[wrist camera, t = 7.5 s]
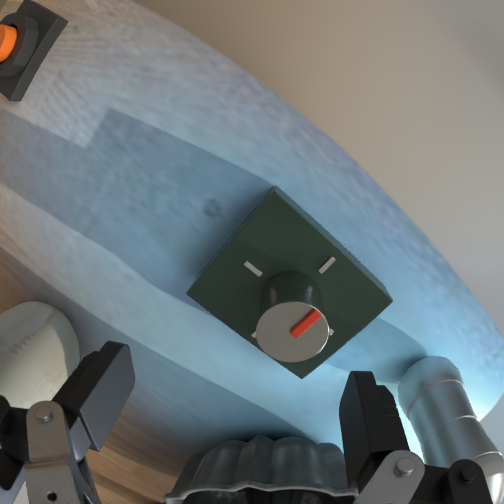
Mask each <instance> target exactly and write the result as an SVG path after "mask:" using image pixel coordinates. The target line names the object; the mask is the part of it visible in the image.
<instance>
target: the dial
mask: <svg viewBox="0 0 504 504" xmlns="http://www.w3.org/2000/svg"><path fill="white" fill-rule="evenodd" d="M328 336H329V326H328V322H327V317H326V312H325V307H324V303H323V298H322V294H321V290H320V288H319V286H318V284H317V283H316V282H315V281H314V280H313V279H312V278H311V277H309V276H307V275H305V274H303V273H299V272H285V273H281V274H278V275H276V276H274V277H273V278H271V279H270V280H269V281H268V282H267V283H266V285H265V286H264V288H263V290H262V294H261V300H260V306H259V313H258V319H257V325H256V339H257V342H258V344H259V346H260V347H261V349H262V350H263V351H264V352H265V353H266V354H267V355H269V356H270V357H272V358H274V359H276V360H279V361H283V362H299V361H304V360H307V359H309V358H311V357H313V356H315V355H316V354H317V353H318V352H319V351H321V349H322V348H323V347H324V345H325V344H326V342H327V339H328Z"/></svg>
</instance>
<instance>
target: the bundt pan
mask: <svg viewBox="0 0 504 504" xmlns="http://www.w3.org/2000/svg"><path fill="white" fill-rule="evenodd" d="M358 495H359V493H358V488H356V489H348V486H347V476H346V467H345V458H344V454H343V453H342V451H341V450H340V448H339V447H337V446H336V445H335V444H332V443H321V444H318V445H316V444H314V443H313V442H311V441H309V440H308V439H305V438H301V437H285V438H282V439H279V440H277V441H273V440H271V439H270V438H268V437H266V436H264V435H262V434H259V435H257V436H256V437H254V438H253V439H252V440H250V441H249V442H244V441H238V440H231V441H226V442H223V443H220V444H218V445H216V446H215V447H213V448H212V449H211V450H207V451H202V452H199V453H197V454H195V455H194V456H193V457H191V458H190V460H189V461H188V462H187V464H186V466H185V467H184V469H183V471H182V473H181V475H180V477H179V479H178V480H177V482H176V484H175V486H174V488H173V490H172V492H171V493H168V494H165V496H164V500H165V502H164V503H162V504H352V503H353V502H354V501H355V499H356V498H357V497H358Z"/></svg>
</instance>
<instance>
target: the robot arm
mask: <svg viewBox="0 0 504 504" xmlns="http://www.w3.org/2000/svg"><path fill="white" fill-rule="evenodd" d="M134 382H135V374H134V369H133V364H132V359H131V354H130V349H129V346H128V345H127V344H123V343H118V342H113V341H108V342H106V343H105V345H104V346H103V347H102V349H101V350H100V351H99V352H98V351H94V352H92V353H91V354H89V355H87V356H86V357H84V358H83V360H82V361H81V362H80V364H79V365H78V366H77V368H76V369H75V370H74V371H73V372H72V375H70V376H69V378H68V379H67V380H66V381H65V383H64V384H63V385H62V387H61V388H60V389H59V391H58V392H57V393H56V394H55V396H54V397H53V398H52V400H51V401H48V400H45V401H40V402H37V403H35V404H34V405H32V406H31V407H30V408H29V409H25V408H17V407H11V406H10V404H9V402H8V400H7V399H6V398H5V397H4V396H2V395H0V447H1V448H0V504H13V503H14V501H15V499H16V497H17V495H18V493H19V491H20V489H21V487H22V485H23V483H24V481H26V487H27V493H28V499H29V504H102V503H101V501H100V499H99V496H98V494H97V491H96V488H95V485H94V481H93V478H92V475H91V472H90V468H89V465H88V461H87V458H86V456H85V454H86V452H87V450H88V448H89V449H92V450H95V451H98V452H99V451H100V449H101V447H102V446H103V444H104V442H105V440H106V438H107V436H108V434H109V432H110V430H111V429H112V427H113V425H114V423H115V421H116V419H117V417H118V416H119V414H120V412H121V410H122V408H123V406H124V404H125V403H126V401H127V399H128V397H129V395H130V393H131V392H132V390H133V387H134ZM339 418H340V426H341V433H342V441H343V449H344V458H345V467H346V476H347V486H348V489H356V488H358V493H359V495H358V497H357V498H356V499H355V501H354V502H353V503H352V504H493V502H492V498H491V495H490V492H489V488H488V485H487V482H486V478H485V475H484V472H483V470H482V468H481V467H480V466H479V464H477V463H476V462H474V461H472V460H469V459H461V460H458V461H456V462H454V463H453V464H452V465H451V466H450V467H449V468H445V467H437V466H430V465H426V464H424V463H423V461H422V459H421V458H420V457H419V456H418V455H416V454H415V453H413V452H411V451H410V449H409V446H408V442H407V439H406V435H405V432H404V429H403V426H402V422H401V419H400V417H399V413H398V410H397V408H396V403H395V400H394V397H393V395H392V394H391V392H390V391H389V390H388V389H387V388H386V387H385V386H384V385H376V382H375V378H374V375H373V373H372V372H371V371H351V372H350V374H349V377H348V380H347V383H346V386H345V389H344V392H343V395H342V398H341V401H340V407H339Z"/></svg>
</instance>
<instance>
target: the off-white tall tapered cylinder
mask: <svg viewBox="0 0 504 504" xmlns="http://www.w3.org/2000/svg"><path fill="white" fill-rule="evenodd" d="M79 361H80V349H79V343H78V339H77V336H76V333H75V331H74V328H73V326H72V324H71V323H70V321H69V320H68V318H67V317H66V316H65V315H64V314H63V313H62V312H61V311H59V310H58V309H56V308H55V307H53V306H51V305H49V304H46V303H43V302H39V301H29V302H24V303H21V304H18V305H16V306H14V307H12V308H10V309H8V310H6V311H5V312H3V313H2V314H0V395H2V396H4V397H5V398H6V399H7V400H8V402H9V404H10V406H11V407H17V408H25V409H29V408H30V407H31V406H32V405H34V404H35V403H37V402H40V401H45V400H48V401H51V400H52V398H53V397H54V396H55V394H56V393H57V392H58V391H59V389H60V388H61V387H62V385H63V384H64V383H65V381H66V380H67V379H68V378H69V376H70V375H72V372H73V371H74V370H75V369H76V368H77V366H78V365H79ZM0 448H1V447H0Z"/></svg>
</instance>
